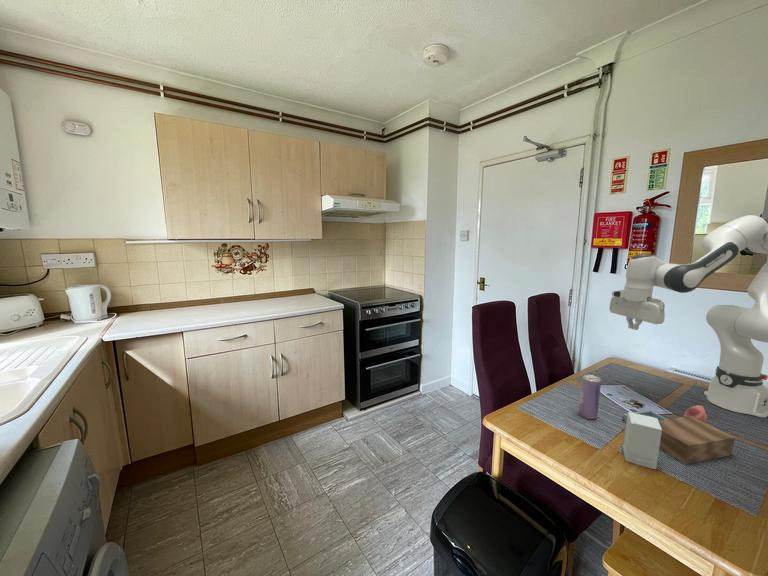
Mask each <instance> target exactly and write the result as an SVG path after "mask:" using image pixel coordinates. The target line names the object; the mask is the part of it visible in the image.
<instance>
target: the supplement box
mask: <svg viewBox="0 0 768 576" xmlns="http://www.w3.org/2000/svg"><path fill="white" fill-rule="evenodd" d="M627 414H628V415H627V422H625V424H626V425H625V431H624V436H623V437H624V439H623V446H622V450H623V455H624V460H625V462H629V463H632V464H635V465H638V466H641V467H646V468H649V469H652V470H657V468H658V467H657V465H658V460H659V454H660V448H659V447H660V440H661V434H662V429H661V426H660V424H659V421H658V419H657V418H654V417H649V416H645V415H640V414H636V413H635V412H631V411H628V412H627Z"/></svg>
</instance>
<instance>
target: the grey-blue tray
mask: <svg viewBox="0 0 768 576" xmlns="http://www.w3.org/2000/svg"><path fill="white" fill-rule="evenodd" d="M634 413H636V414H640V415H645V416H649V417H654V418H657V419H658V421H661V420H667V419H668V418H665V416H662V415H660V414H659V413H657V412H654V411H652V410H651V409H649V410H642V411H636V412H634ZM627 415H628V413H623V415H622V422H625V423H626V422H627Z"/></svg>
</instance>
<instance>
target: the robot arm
mask: <svg viewBox="0 0 768 576" xmlns="http://www.w3.org/2000/svg"><path fill="white" fill-rule="evenodd" d="M701 246H702V249H703V251H704V252H705V254H704V255H703V256H702V257H700V258H699V259H697V260H696V261H694V262H693V263H687V264H686V263H685V264H684V263H683V264H679V263H672V262H671V263H670V262H666V261H664V260H662V259H659V258H658V257H657V256H656V255H655V254H652V253H642V254H641V253H640V254H636V255H633V256H631V257H630V258H629V261H628V263H627V267H626V272H625V273H626V274H625V278H626V281H625V284H624V289H620V290H614V291H613V290H612V292H611V296H612V297H611V298H610V301H609V311H610V313H611V314H615V315H619V316H623V317H625V320H626V322H627V327H628V329H630V330H631V329H632V330H634V331H637V330H639V328H640V325H641V324H642V323H643V322H646V323H649V324H653V325H661V324H664V322H665V318H666V317H665V315H666V313H665V306H666V305H665V302H663V300H661V299H659V298H654V297H653V291H654V287H658V288H662V289H666V290H667V289H668V290H670V291H673V292H675V293H682V294H684V293H690V292H692V291H695V290H696V289H697V288H699V286H701V284H702V283H703V282H704V281H705V279H708V277H710V276H711V275H713V274H714V273H715V272H718V271H719V270H720V269H721V268H723V267H724V266H726V265H727V264H728V263H730V262H732V261H733V260H734V259H735V258H736V257H737V256H738V254H739V253H740V252H741V251H744V252H745V253H748V254H753V255H762V254H765V255H767V258H766V260H765V263H764V265H762V267H761V268H760V269H759V271H757V274H756V275H755V277H754V278H753V280H752V281H751V283H750V284H749V286H747V289H746V290H747V294H748V296H749V297H750V299H753V300H754V306H753V307H752V308H751V307H750V308H749V307H743V306H738V305H733V304H716V305H713V306H712V307H710V308H709V309H708V311H707V312H706V315H705V317H706V318H705V319H706V323H707V325H709V327H711V328H712V330H713V331H714V333H715V335H716V337H717V338H718V342H719V346H720V353H719V362H718V366H717V367H716V369H715V374H714V375H715V376H712V377H711V379H710V381H709V385H708V389H707V390H705V391H704V392H703V394H704V396H705V397H706V400H707V401H709V402H710V403H711V404H713V405H715V406H717V407H720V408H722V409H724V410H729V411H731V412H734V413H740V414H745V415H751V416H753V417H754V416H755V417H759V418H763V419H764V418H767V417H768V388H767V387H766V386H765V385H764V383H763V381H766V380H768V375H767V374H764V373H762V369H763V364H764V357H765V356H764V355H763V352H762V351H760V350H759V349H758V348H756V346H755V345H754V343H753V342H752V340H754V341H758V342H762V343H767V344H768V222H767V221H766V220H765V219H764V218H763V217H761V216H759V215H754V214H749V215H744V216H740V217H738V218H736V219H732V220H731V221H728V222H727V223H724V224H722V225H720V226H719V227H716V228H715V229H713V230H712V231H710V232H708V233H707V234H706V235H705V236H704V237H703V239H702V241H701ZM633 321H634V322H635V323H634V322H633Z"/></svg>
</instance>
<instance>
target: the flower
mask: <svg viewBox="0 0 768 576" xmlns="http://www.w3.org/2000/svg"><path fill="white" fill-rule="evenodd" d="M705 410H706V409H705V408H704V406H702V405H701V404H700V405H698V404H696V406H695V405H693V406H692V407H689V408H687V409H686V410H685V412H684V415H683V417H687V416H692V417H694V418H696V419H698V420H700V421H702V422H704V423H706V421H707V418H708V416H707V414H706V411H705Z"/></svg>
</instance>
